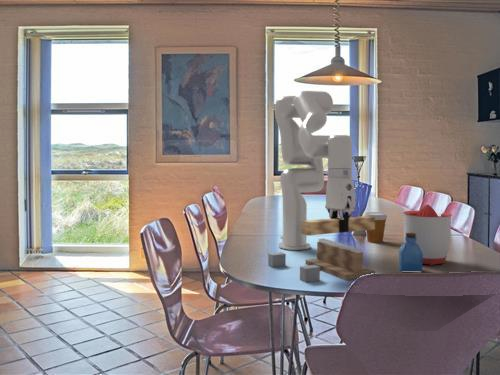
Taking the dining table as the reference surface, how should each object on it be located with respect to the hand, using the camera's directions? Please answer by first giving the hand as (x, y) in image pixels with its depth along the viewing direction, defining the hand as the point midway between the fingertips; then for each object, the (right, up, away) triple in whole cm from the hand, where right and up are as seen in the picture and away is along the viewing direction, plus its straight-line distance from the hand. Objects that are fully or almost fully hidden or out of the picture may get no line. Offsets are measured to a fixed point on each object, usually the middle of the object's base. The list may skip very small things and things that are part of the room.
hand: (339, 230), depth 149 cm
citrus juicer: (+33, -12, +13) cm, 38 cm away
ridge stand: (0, -13, +1) cm, 13 cm away
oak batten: (0, 0, 0) cm, 0 cm away
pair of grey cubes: (-15, -13, -2) cm, 20 cm away
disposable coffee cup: (+25, -9, +49) cm, 55 cm away
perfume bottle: (+23, -13, 0) cm, 26 cm away
